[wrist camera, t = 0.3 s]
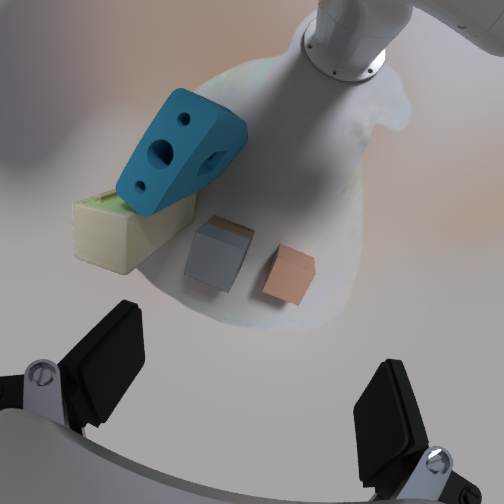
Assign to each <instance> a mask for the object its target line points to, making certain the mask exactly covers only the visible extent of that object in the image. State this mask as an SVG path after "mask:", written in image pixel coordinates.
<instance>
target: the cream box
mask: <svg viewBox="0 0 504 504" xmlns="http://www.w3.org/2000/svg"><path fill="white" fill-rule="evenodd" d="M196 196H197V192H196V193H194V194H192V195H190V196H188V197H186V198H184V199H182V200H180V201H178V202H176V203H174V204H172V205H170V206H169V207H167V208H165V209H163V210H161V211H159V212H157V213H155V214H153V215H151V216H150V217H142V216H141V215H140V214H139V213H137V212H136V211H135V210H134V209H133V208H132V207H131V206H129V205H128V204H127V203H126V202H125V201H124V200H123V199H121V198H120V197H119V196H118V194H117V192H116V189H114V190H111V191H107V192H104V193H101V194H98V195H96V196H93V197H90V198H87V199H84V200H81V201H78V202H76V203H74V204H73V206H72V226H73V246H74V256H75V257H76V258H78V259H80V260H82V261H85V262H87V263H90V264H93V265H96V266H99V267H102V268H104V269H107V270H110V271H113V272H116V273H119V274H122V275H127V274H129V273H130V272H131V271H132V270H134V269H135V268H136V267H137V266H138V265H140V264H141V263H142V262H143V261H144V260H146V259H147V258H148V257H149V256H150V255H152V254H153V253H154V252H155V251H157V250H158V249H159V248H160V247H161V246H163V245H164V244H165V243H166V242H168V241H169V240H170V239H172V238H173V237H174V236H175V235H177V234H178V233H179V232H181V231H182V230H183V229H184V228H186V227H187V226H188V225H190V224H191V223H192V222H193V217H194V210H195V203H196Z"/></svg>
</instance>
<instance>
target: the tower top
mask: <svg viewBox="0 0 504 504" xmlns="http://www.w3.org/2000/svg"><path fill="white" fill-rule="evenodd" d="M249 242H250V240H249V239H247V238H244V237H242V236H239V235H237V234H234V233H232V232H229V231H227V230H224V229H222V228H219V227H217V226H214V225H212V224H209V223H207V222H206V223H205V224H204V225H203V226H202V227H201V228H199V229H198V230H197V231H196V234H195V237H194V241H193V244H192V248H191V251H190V255H189V258H188V262H187V266H186V269H185V273H184V274H185V275H187V276H189V277H192V278H194V279H196V280H199V281H201V282H203V283H206V284H208V285H211V286H213V287H215V288H218V289H220V290H223V291H225V292H227V293H229V291H230V289H231V287H232V285H233V283H234V281H235V278H236V276H237V273H238V271H239V268H240V265H241V263H242V260H243V257H244V255H245V252H246V250H247V247H248V245H249Z"/></svg>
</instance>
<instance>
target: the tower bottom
mask: <svg viewBox="0 0 504 504" xmlns="http://www.w3.org/2000/svg"><path fill="white" fill-rule="evenodd" d="M207 223H209V224H212V225H214V226H217V227H219V228H222V229H224V230H227V231H229V232H232V233H234V234H237V235H239V236H242V237H244V238H247V239H249V240H250V242H251V240H252V237H253V235H254V232H255V231H254V230H251V229H249V228H246V227H244V226H241V225H239V224H236V223H234V222H231V221H228V220H226V219H223V218H221V217H218V216H216V215H215V216H213V217H212V218H211V219H210V220H209V221H208V222H207ZM250 242H249V245H250ZM249 245H248V247H247V250H248V248H249ZM247 250H246V252H245V255H246V253H247ZM245 255H244V257H243V260H242V263H243V261H244V258H245ZM242 263H241V265H240V268H241V266H242ZM240 268H239V270H240ZM238 272H239V271H238ZM237 275H238V273H237ZM236 277H237V276H236ZM235 279H236V278H235Z"/></svg>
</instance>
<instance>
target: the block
mask: <svg viewBox="0 0 504 504" xmlns="http://www.w3.org/2000/svg"><path fill="white" fill-rule="evenodd" d="M247 139H248V136H247V124H246V122H245V121H244V120H242V119H241V118H239V117H238V116H237V115H235V114H234V113H233V112H231V111H230V110H228V109H227V108H225V107H223V106H221V105H219V104H217V103H215V102H213V101H211V100H209V99H206V98H204V97H202V96H200V95H197V94H195V93H193V92H190V91H188V90H186V89H183V88H179V89H176V90H174V91H173V92H172V93H171V95H170V96H169V97H168V99H167V100H166V102H165V103H164V105H163V106H162V108H161V109H160V111H159V112H158V113H157V115H156V117H155V118H154V120H153V121H152V123H151V124H150V126H149V127H148V129H147V131H146V132H145V134H144V136H143V137H142V139H141V140H140V142H139V144H138V145H137V147H136V149H135V151H134V152H133V154H132V156H131V158H130V159H129V161H128V163H127V165H126V167H125V169H124V170H123V172H122V174H121V176H120V178H119V180H118V182H117V184H116V192H117V194H118V196H119V197H120V198H121V199H123V200H124V201H125V202H126V203H127V204H128V205H129V206H131V207H132V208H133V209H134V210H135V211H136V212H137V213H139V214H140V215H141V216H142V217H150V216H151V215H153V214H155V213H157V212H159V211H161V210H163V209H165V208H167V207H169V206H170V205H172V204H174V203H176V202H178V201H180V200H182V199H184V198H186V197H188V196H190V195H192V194H194V193H196V192H198V191H200V190H201V189H202V188H204V187H205V186H206V185H208V184H209V183H210V182H212V181H213V180H214V179H216V178H217V177H218V176H220V175H221V174H222V172H223V171H224V170H225V168H226V167H227V166H228V164H229V163H230V162H231V161H232V159H233V158H234V157H235V156H236V154H237V153H238V152H239V151H240V149H241V148H242V147H243V146H244V144H245V143H246V142H247ZM215 152H216V153H215Z"/></svg>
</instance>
